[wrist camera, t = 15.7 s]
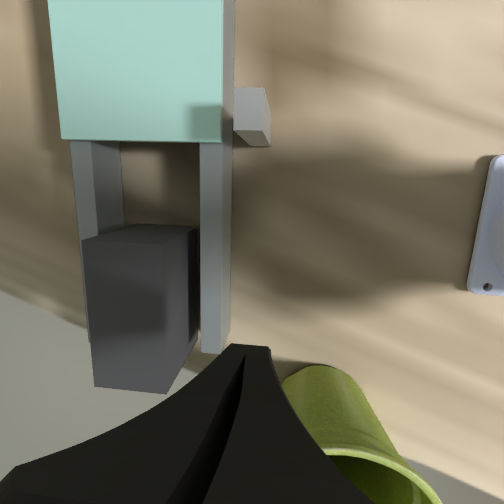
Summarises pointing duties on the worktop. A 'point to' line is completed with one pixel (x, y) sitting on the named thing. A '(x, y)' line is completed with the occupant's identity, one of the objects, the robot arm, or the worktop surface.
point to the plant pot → (354, 436)
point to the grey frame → (211, 191)
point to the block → (141, 304)
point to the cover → (138, 69)
